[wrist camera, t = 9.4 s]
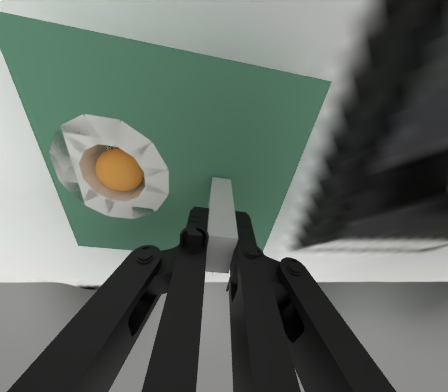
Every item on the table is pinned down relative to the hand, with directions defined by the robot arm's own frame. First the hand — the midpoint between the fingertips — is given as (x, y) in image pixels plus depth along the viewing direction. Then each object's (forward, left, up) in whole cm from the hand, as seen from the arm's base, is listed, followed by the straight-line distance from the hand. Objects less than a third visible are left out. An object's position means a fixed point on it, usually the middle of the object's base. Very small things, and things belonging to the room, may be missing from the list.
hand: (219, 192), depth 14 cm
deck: (0, -4, -5) cm, 6 cm away
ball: (+1, -9, -3) cm, 10 cm away
